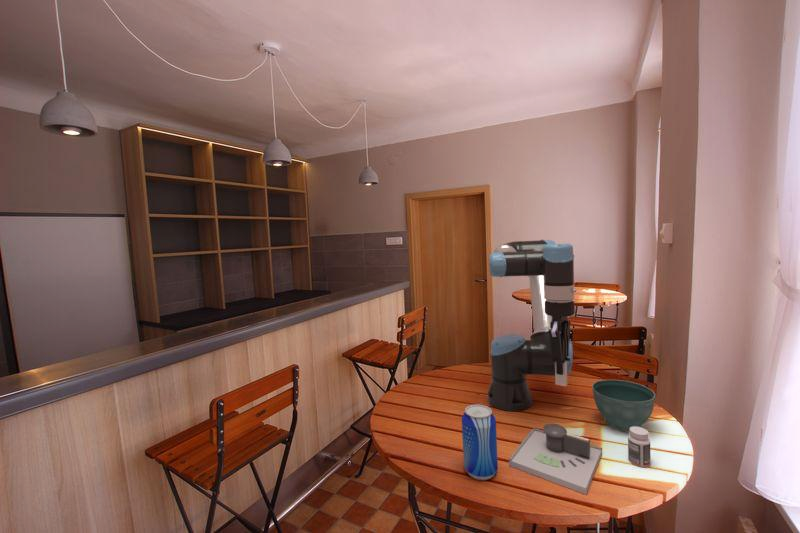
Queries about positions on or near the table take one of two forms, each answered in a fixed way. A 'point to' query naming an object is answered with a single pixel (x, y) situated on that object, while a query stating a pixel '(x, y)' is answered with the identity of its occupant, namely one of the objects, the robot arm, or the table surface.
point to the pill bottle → (639, 447)
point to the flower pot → (623, 403)
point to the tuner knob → (565, 440)
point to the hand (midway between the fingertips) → (561, 384)
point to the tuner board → (564, 476)
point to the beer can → (479, 442)
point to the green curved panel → (555, 460)
